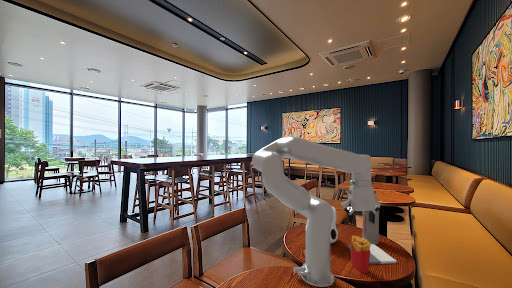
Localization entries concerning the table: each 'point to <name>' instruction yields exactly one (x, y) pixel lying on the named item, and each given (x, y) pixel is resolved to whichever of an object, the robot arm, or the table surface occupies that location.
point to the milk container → (332, 228)
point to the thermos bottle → (371, 227)
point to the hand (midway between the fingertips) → (361, 222)
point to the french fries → (360, 254)
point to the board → (378, 255)
